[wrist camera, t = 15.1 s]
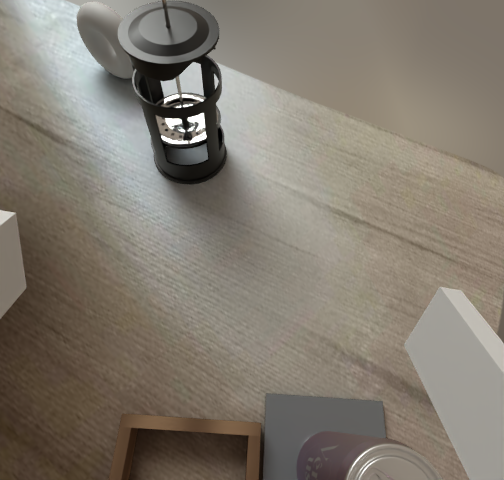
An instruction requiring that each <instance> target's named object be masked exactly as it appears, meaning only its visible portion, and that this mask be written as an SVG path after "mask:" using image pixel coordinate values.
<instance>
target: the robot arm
mask: <svg viewBox="0 0 504 480" xmlns="http://www.w3.org/2000/svg"><path fill="white" fill-rule="evenodd" d="M26 288H27V287H26V280H25V273H24V266H23V259H22V252H21V245H20V238H19V231H18V224H17V217H16V213H14V212H8V211H2V210H0V319H1V317H2V316H3V315H4V314H5V313H6V312H7V310H8V309H9V308H10V307H11V306H12V304H13V303H14V302H15V301H16V300H17V299H18V297H19V296H20V295H21V294H22V293H23V291H24V290H25V289H26ZM404 346H405V348H406V350H407V352H408V354H409V356H410V358H411V360H412V363H413V365H414V367H415V369H416V371H417V373H418V375H419V377H420V379H421V381H422V383H423V385H424V387H425V389H426V391H427V393H428V395H429V397H430V399H431V401H432V403H433V406H434V408H435V410H436V412H437V414H438V416H439V418H440V420H441V422H442V424H443V426H444V428H445V430H446V432H447V434H448V436H449V438H450V440H451V442H452V444H453V447H454V449H455V451H456V453H457V455H458V457H459V459H460V461H461V463H462V465H463V467H464V469H465V471H466V473H467V475H468V477H469V479H470V480H504V343H503V342H502V341H501V339H499V337H498V336H497V334H496V333H495V332H494V331H493V329H492V328H491V327H490V326H489V324H488V323H487V322H486V321H485V320H484V318H483V317H482V316H481V315H480V313H479V312H478V311H477V310H476V308H475V307H474V306H473V305H472V303H471V302H470V301H469V300H468V298H467V297H466V296H465V295H464V293H463V292H462V291H461V290H455V289H450V288H444V287H439V289H438V291H437V292H436V294H435V295H434V297H433V299H432V300H431V302H430V304H429V305H428V307H427V308H426V310H425V312H424V313H423V315H422V316H421V318H420V320H419V321H418V323H417V325H416V326H415V328H414V329H413V331H412V333H411V334H410V336H409V338H408V339H407V341H406V342H405V344H404Z"/></svg>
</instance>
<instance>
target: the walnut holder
mask: <svg viewBox="0 0 504 480" xmlns="http://www.w3.org/2000/svg"><path fill="white" fill-rule="evenodd" d="M138 428H145V429H160V430H175V431H190V432H205V433H220V434H234V435H248V441H247V459H246V476H245V480H259V458H260V434H261V423H256V422H241V421H226V420H211V419H196V418H181V417H166V416H152V415H137V414H122V416H121V421H120V426H119V431H118V436H117V441H116V446H115V451H114V456H113V461H112V466H111V470H110V475H109V480H129V476H130V471H131V465H132V460H133V454H134V449H135V443H136V438H137V432H138Z"/></svg>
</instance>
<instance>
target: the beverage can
mask: <svg viewBox="0 0 504 480" xmlns="http://www.w3.org/2000/svg"><path fill="white" fill-rule="evenodd" d="M296 471H297V479H298V480H443V479H442V477H441V475H440V474H439V473H438V471H437V470H436V469H435V467H434V466H433V465H432V464H431V463H430V462H429V461H428V460H427V459H426V458H424V457H423V456H422V455H421V454H419V453H418V452H416V451H415V450H413V449H412V448H410V447H409V446H407V445H405V444H403V443H401V442H398V441H395V440H392V439H386V438H378V437H371V436H363V435H356V434H348V433H340V432H333V431H323V432H319V433H317V434H315V435H313V436H311V437H310V438H309V439H308V440H307V441H306V442H305V443H304V445H303V446H302V448H301V450H300V452H299V455H298V459H297V467H296Z"/></svg>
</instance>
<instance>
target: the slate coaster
mask: <svg viewBox="0 0 504 480" xmlns="http://www.w3.org/2000/svg"><path fill="white" fill-rule="evenodd" d="M323 431H333V432H340V433H348V434H356V435H363V436H371V437H378V438H386V433H385V423H384V412H383V402H382V401H371V400H356V399H342V398H327V397H312V396H297V395H283V394H268V393H266V404H265V429H264V455H263V480H298V479H297V471H296V467H297V459H298V455H299V452H300V450H301V448H302V446H303V445H304V443H305V442H306V441H307V440H308V439H309V438H310V437H311V436H313V435H315V434H317V433H319V432H323Z"/></svg>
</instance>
